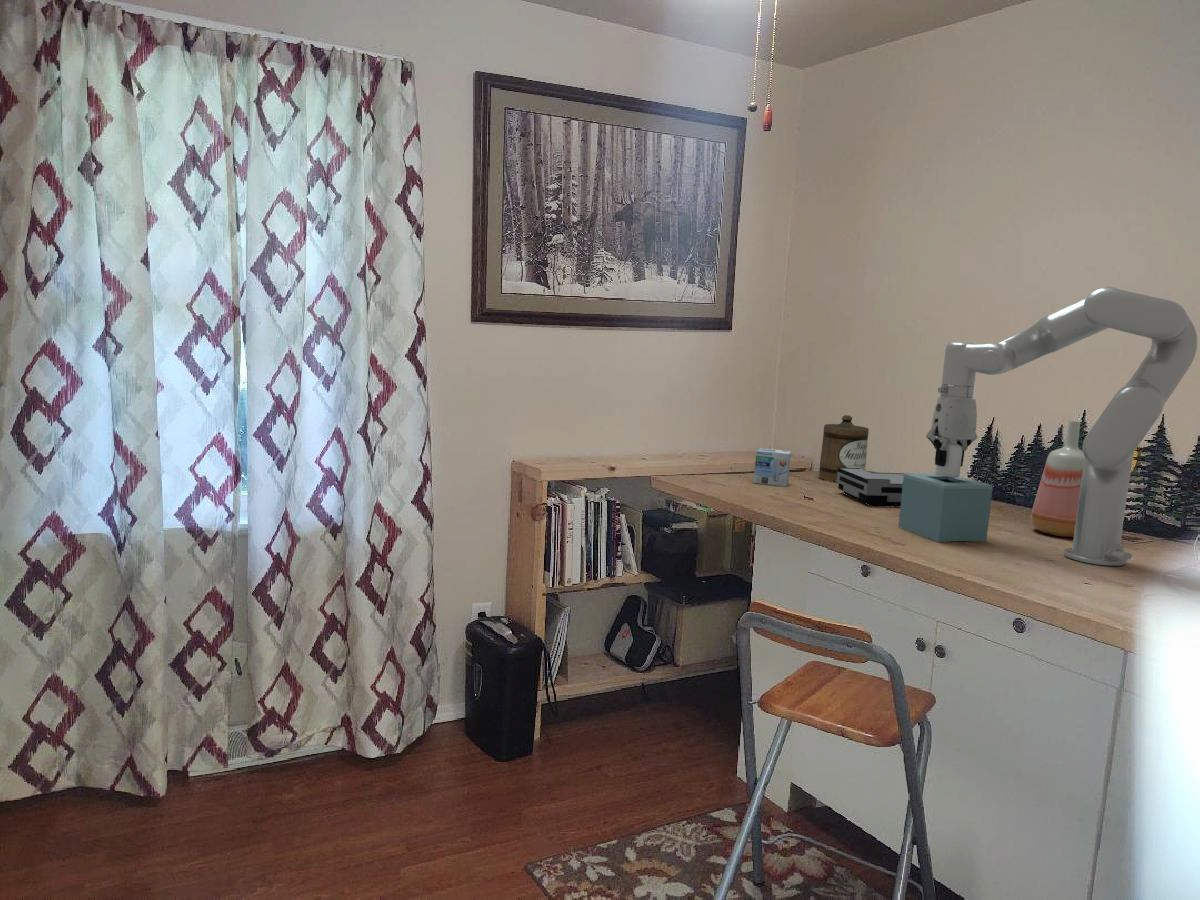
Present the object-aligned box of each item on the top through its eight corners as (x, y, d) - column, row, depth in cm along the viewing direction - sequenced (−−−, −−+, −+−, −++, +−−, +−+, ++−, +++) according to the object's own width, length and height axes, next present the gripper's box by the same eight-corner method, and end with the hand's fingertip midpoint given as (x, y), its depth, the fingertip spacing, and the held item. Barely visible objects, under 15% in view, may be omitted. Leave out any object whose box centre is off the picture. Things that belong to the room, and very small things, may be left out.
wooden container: (848, 485, 292) (854, 418, 289) (810, 477, 303) (815, 413, 300) (872, 481, 302) (878, 417, 299) (834, 474, 313) (840, 412, 310)
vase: (1057, 526, 243) (1071, 418, 239) (1103, 539, 230) (1119, 425, 225) (1016, 528, 238) (1030, 417, 233) (1062, 541, 224) (1077, 424, 220)
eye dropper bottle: (946, 474, 227) (952, 427, 225) (962, 478, 221) (967, 430, 220) (932, 474, 225) (937, 426, 224) (947, 478, 220) (953, 429, 218)
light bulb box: (752, 483, 285) (755, 450, 284) (755, 480, 292) (758, 447, 290) (786, 486, 282) (789, 453, 281) (788, 483, 289) (791, 450, 287)
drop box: (986, 541, 220) (992, 485, 218) (938, 542, 216) (944, 485, 214) (944, 526, 235) (949, 473, 233) (898, 527, 231) (903, 473, 229)
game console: (967, 510, 262) (970, 482, 261) (865, 507, 257) (868, 479, 255) (930, 496, 282) (933, 470, 281) (835, 493, 277) (837, 467, 276)
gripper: (937, 392, 214) (929, 467, 217) (995, 395, 219) (987, 468, 222) (918, 390, 221) (910, 462, 224) (975, 392, 226) (966, 463, 229)
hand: (948, 464), depth 223 cm, fingers closed on eye dropper bottle, 4 cm apart
